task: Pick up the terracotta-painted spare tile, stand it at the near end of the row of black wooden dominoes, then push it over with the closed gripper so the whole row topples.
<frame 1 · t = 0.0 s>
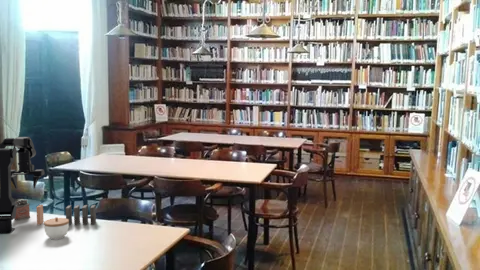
hand: (25, 188, 243), 15 cm above the table, tool pointing down, fingers open, 9 cm apart
domino 1: (69, 224, 229), on the table
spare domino: (40, 223, 230), on the table
domino 4: (93, 223, 230), on the table
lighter: (22, 219, 238), on the table
domino 2: (77, 223, 230), on the table
domino 3: (85, 223, 230), on the table
lidded jar: (57, 237, 208), on the table
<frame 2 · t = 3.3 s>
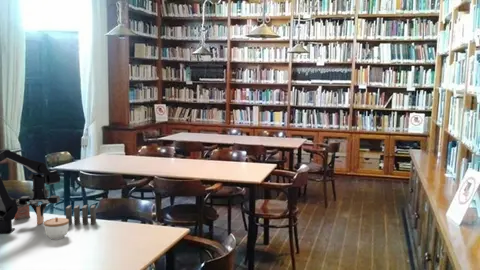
hand: (40, 216, 230), 4 cm above the table, tool pointing down, fingers closed on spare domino, 2 cm apart
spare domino: (40, 222, 230), on the table, touching gripper
everything else where it was.
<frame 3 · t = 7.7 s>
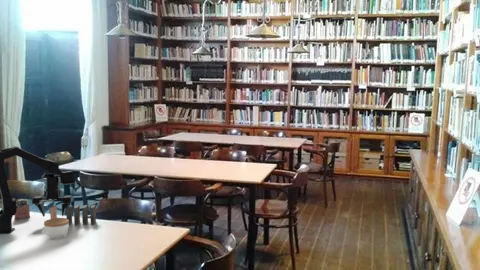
hand: (53, 216, 228), 4 cm above the table, tool pointing down, fingers open, 9 cm apart
domino 1: (69, 223, 229), on the table, touching gripper
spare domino: (53, 224, 229), on the table
everything else where it was.
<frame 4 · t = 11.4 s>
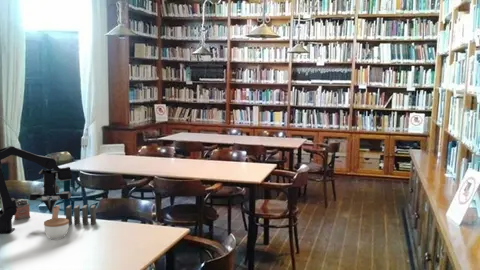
hand: (51, 212, 228), 6 cm above the table, tool pointing down, fingers closed
domino 1: (69, 224, 229), on the table
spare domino: (53, 223, 229), on the table, tilted 10°
everything else where it was.
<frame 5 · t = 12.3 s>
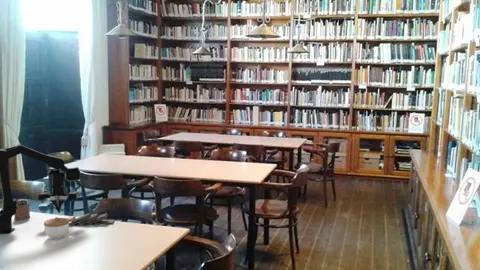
hand: (59, 212, 228), 6 cm above the table, tool pointing down, fingers closed
domino 1: (72, 222, 229), point 1 cm above the table, tilted 67°, touching domino 2
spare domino: (56, 222, 229), point 1 cm above the table, tilted 77°
domino 4: (95, 222, 231), on the table, tilted 90°, touching domino 3
domino 2: (80, 222, 230), point 1 cm above the table, tilted 68°, touching domino 1
domino 3: (89, 222, 230), point 1 cm above the table, tilted 69°, touching domino 4
everything else where it was.
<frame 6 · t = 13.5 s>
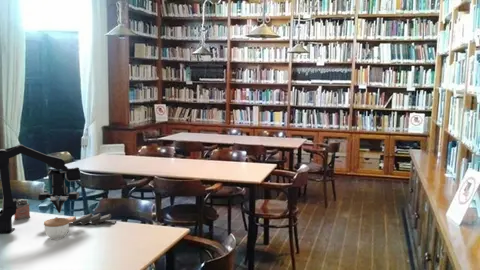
hand: (59, 212, 228), 6 cm above the table, tool pointing down, fingers closed
domino 1: (74, 222, 229), point 1 cm above the table, tilted 68°, touching domino 2, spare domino
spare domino: (56, 222, 229), point 1 cm above the table, tilted 79°, touching domino 1
domino 2: (83, 222, 230), point 1 cm above the table, tilted 68°, touching domino 1
domino 3: (92, 221, 230), point 1 cm above the table, tilted 74°, touching domino 4
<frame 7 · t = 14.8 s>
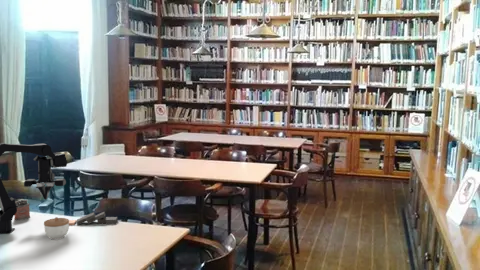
hand: (45, 199, 227), 13 cm above the table, tool pointing down, fingers closed
domino 1: (77, 222, 229), point 1 cm above the table, tilted 68°
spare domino: (57, 223, 229), on the table, tilted 90°
domino 2: (87, 221, 231), point 1 cm above the table, tilted 68°, touching domino 3
domino 3: (98, 220, 232), point 1 cm above the table, tilted 90°, touching domino 2, domino 4
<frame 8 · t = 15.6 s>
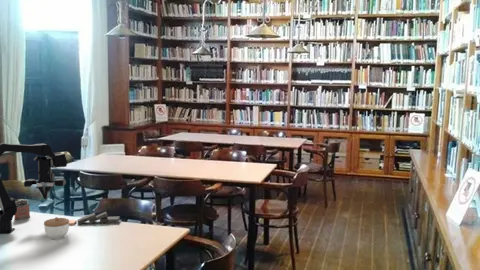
hand: (45, 199, 227), 13 cm above the table, tool pointing down, fingers closed
domino 2: (89, 221, 231), point 1 cm above the table, tilted 69°
domino 3: (101, 219, 232), point 2 cm above the table, tilted 90°, touching domino 4
at the end: domino 4 tilted 90°; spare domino tilted 90°; the gripper is holding nothing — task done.
